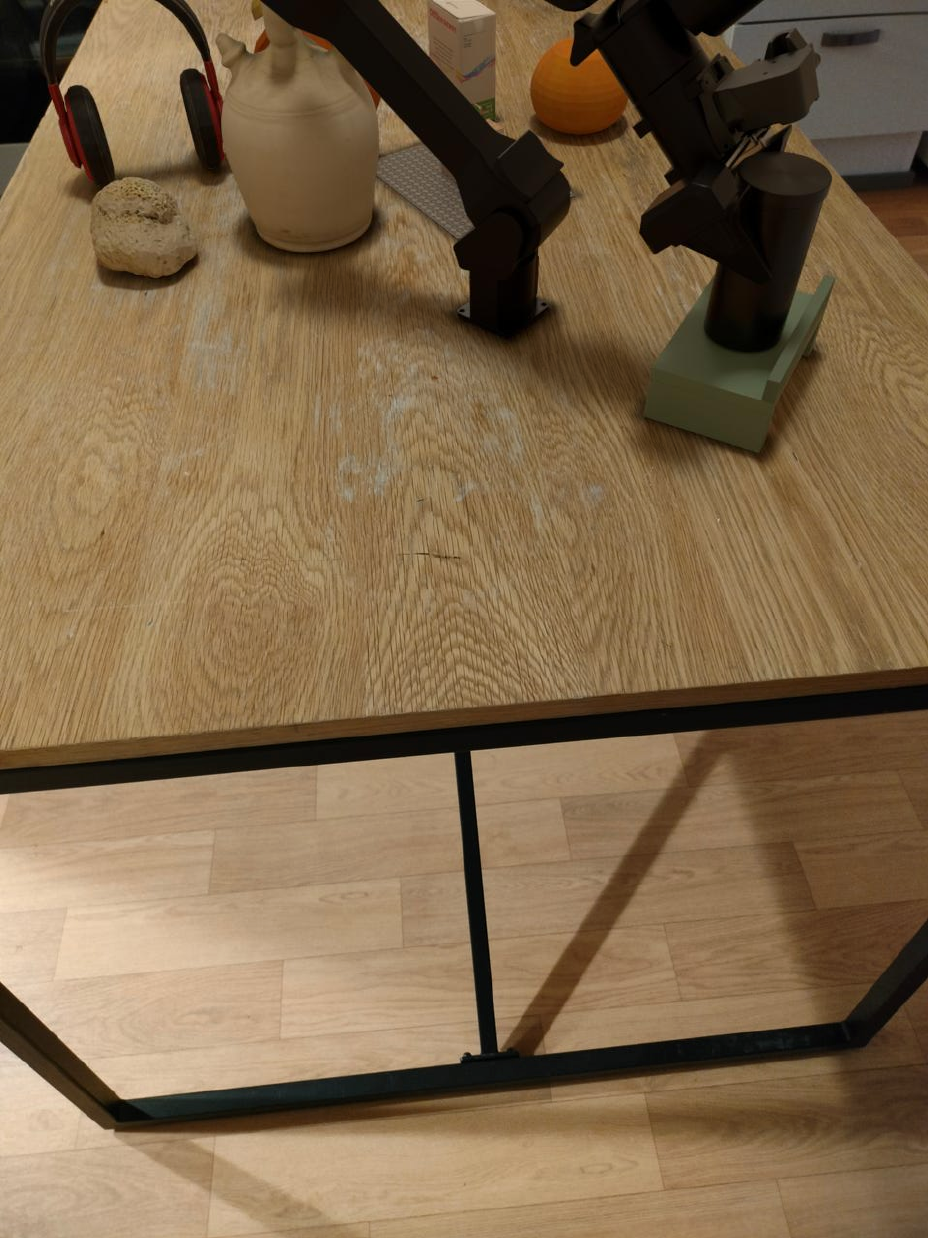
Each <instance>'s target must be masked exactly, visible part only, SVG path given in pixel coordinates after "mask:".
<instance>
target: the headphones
mask: <svg viewBox="0 0 928 1238" xmlns="http://www.w3.org/2000/svg"><path fill="white" fill-rule="evenodd" d="M84 1H85V0H49V1H48V4H47V6H46V7H45V9H44V13H43V14H42V15H43V16H42V18H41V22H40V29H39V36H38V37H39V38H38V39H39V54H40V55H39V56H40V63H41V66H42V71H43V74H44V76H45V78H46V82H47V87H48V92H49V95H50V97H51V100H52V104H53V106H54V110H55V113H56V115H57V116H58V120H57V123H58V127H59V131H60V135H61V137H62V141H63V144H64V147H65V150H66V153H67V155H68V158H69V160H70V162H71V163H72V164H73V165H74V167H75V168H77V169H79V170H82V167H83V169H84V171H85V173H86V176H87V179H88V180H89V181H90V182H92V183H93V184H95V185H96V186H98V187H103V188H104V187H106V186H107V185H109V184H110V183H111V182H114V181H116V171H115V170H116V169H115V165H114V164H115V163H114V161H113V156H112V152H111V149H110V146H109V142H108V141H109V140H108V139H107V135H106V131H105V128H104V125H103V121H102V119H101V115H100V112H99V109H98V106H97V103H96V101H95V98H94V96H93V95H92V92H91V91H90V89H89V88H88V87H86V86H84V85H82V84H74V85H70V86H69V87H68V88H67V90H66V93H64V94H62V92H61V89H60V85H59V82H58V78H57V48H58V47H57V46H58V40H59V36H60V33H61V29H62V26H63V25H64V23H65V21H66V20H67V18H68V16H69V14H70V13H71V12H72V11H73V10H74V9H76V8H77V7H78V6H79V5H80V4H81V3H82V2H84ZM154 2H157V3H158V4H160V5H161V6H162V7H164V8H165V9H167V10H168V11H169V12H171V13H172V14H173V15H174V17H175V18H176V19H177V20H178V21H179V22H180V24H182V26H183V28H184V29H185V30H186V32H187V33H188V34H189V36H190V38H191V40H192V42H193V43H194V45H195V47H196V48H197V50H198V52H199V53H200V56H201V59H202V62H203V66H204V71H205V74H204V73H202V72H201V71H199V69H197V68H195V67H191V68H186V69H183V70H182V72H181V73H180V75H179V88H180V93H181V97H182V102H183V107H184V110H185V115H186V119H187V123H188V127H189V131H190V134H191V138H192V142H193V145H194V149H195V150H194V151H195V153H196V156H197V159H198V161H199V162H200V164H201V166H203V167H204V168H206V169H212V170H214V169H217V168H220V167H221V165H222V163H223V161H224V159H225V150H224V145H223V139H222V127H221V119H222V108H223V102H224V98H223V95H222V94H221V92H220V87H219V82H218V76H217V72H216V68H215V64H214V62H213V59H212V55H211V49H210V46H209V41H208V38H207V36H206V33H205V30H204V28H203V26H202V24H201V23H200V20H199V18H198V16H197V14H196V13H195V11H194V10H193V9H192V8H191V6H190V5H189V3H188V2H187V1H186V0H154Z"/></svg>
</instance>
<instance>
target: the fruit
mask: <svg viewBox="0 0 928 1238" xmlns="http://www.w3.org/2000/svg"><path fill="white" fill-rule="evenodd" d="M573 41H574V36H571V37H566V38H562V39H561V40H558V41H557V42H556V43H554V44H553V45H551V47H550V48H548V49H547V50H546V51H545V52H544V53H543V55H542V56H541V57H540V59H539V60H538V62H537V64H536V65H535V68H534V71H533V72H532V76H531V78H530V79H531V80H530V86H529V93H530V101H531V105H532V109H533V111H534V113H535V116H536V117H537V118H538V119H539V120H540V122H542V123H543V124H544V125H545V126H547V127H548V128H549V129H552V130H554V131H556V132H560V133H564V134H568V135H578V136H579V135H590V134H594V133H598V132H601V131H604V130H605V129H608V128H610V127H611V126H612V125H614V124H615V123H616V122H617V121H618V120H619V119H620V118H621V117H622V115H623V114H624V113H625V110H626V108H627V105H628V101H629V98H628V96H627V95H626V93H625V92H624V90H623V89H622V87H621V85H620V84H619V82H618V81H617V79H616V78H615V76H614V74H613V73H612V71H611V70H610V68H609V67H608V65H607V63H606V62H605V60H604V59H603V57H602V56H601V54H600V52H599V51H598V49H596V50H595V51H594V52H593V53H592V54H591V55H589V56H588V57H587V58H586V59H585V60H584V61H583V62H582V63H580V64H579V65H578V66H576V67H574V66H572V65H571V64H570V56H571V50H572V45H573Z"/></svg>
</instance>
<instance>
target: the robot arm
mask: <svg viewBox="0 0 928 1238" xmlns="http://www.w3.org/2000/svg"><path fill="white" fill-rule="evenodd" d="M260 1H261V2H262V3H263V4H264V5H266V6H267V7H268V8H269V9H270V10H272V11H273V12H274V13H275V14H277V15H278V16H279V17H280V18H281V19H283V20H284V21H285V22H286V23H287V24H289V25H290V26H292V27H295V28H297V29H300V30H302V31H305V32H307V33H309V34H312V35H314V36H317V37H319V38H322V39H324V40H326V41H328V42H329V43H330V44H332V45H333V46H334V47H335V48H336V49H337V50H338V52H339V53H340V54H341V55H342V56H343V57H344V58H345V59H346V60H347V61H348V62H349V63H350V65H351V66H352V67H353V68H354V69H355V70H356V71H357V72H358V73H359V74H360V75H361V77H362V78H363V79H364V80H365V81H366V82H367V83H368V84H369V85H370V86H371V87H372V88H373V90H374V91H375V92H376V93H377V94H378V95H379V96H380V97H381V100H382V101H383V102H384V103H385V104H386V105H387V106H388V107H389V108H390V110H392V111H393V112H394V114H395V115H396V116H397V117H398V118H399V119H400V120H401V121H402V122H403V124H405V126H406V127H407V128H408V129H409V130H410V131H411V132H412V133H413V134H414V135H415V137H416V138H417V139H418V140H419V141H420V142H421V143H422V144H424V145H425V146H426V147H427V148H428V149H429V150H430V151H431V153H432V154H433V155H434V156H435V157H436V158H437V159H438V160H439V161H440V162H441V163H442V165H443V166H444V167H445V168H446V169H447V170H448V171H449V172H450V173H451V174H452V176H453V177H454V179H455V180H456V183H457V186H458V189H459V193H460V196H461V199H462V203H463V206H464V209H465V213H466V215H467V217H468V219H469V220H470V221H471V223H472V224H473V227H472V228H471V229H470V230H469V231H468V232H467V233H466V234H465V235H464V236H462V237H461V238H460V239H457V241H456V242H455V243H454V244H453V246H452V249H453V252H454V255H455V259H456V261H457V265H458V267H459V269H461V270H464V271H467V272H468V280H469V282H468V285H469V289H468V290H469V291H468V293H469V295H468V296H469V300H468V301H467V302H466V303H464V304H463V305H462V306H460V307H459V308H457V309H456V316H457V317H458V318H460V319H462V320H465V321H467V322H469V323H471V324H473V325H476V326H477V327H480V328H482V329H484V330H486V331H489V332H491V333H493V334H495V335H497V336H500V337H502V338H504V339H507V340H511V339H513V338H515V337H516V336H517V335H519V334H520V333H521V332H522V331H524V330H525V329H526V328H527V327H529V326H530V325H531V324H532V323H534V322H535V321H536V320H538V319H539V318H540V317H541V316H543V315H545V313H546V312H548V311H549V310H550V303H549V302H548V301H545V300H543V299H542V298H538V297H537V295H538V290H539V269H540V256H539V250H540V247H541V246H542V245H543V244H544V242H545V241H546V240H547V239H548V238H549V237H550V236H551V235H552V234H553V232H555V231H556V229H557V228H558V227H559V226H560V225H561V224H562V223H563V222H564V220H565V219H566V218H567V216H568V215H569V212H570V208H571V204H572V200H571V199H572V197H570V192H571V191H572V187H571V185H570V182H569V180H568V178H567V177H566V175H565V173H564V172H563V171H562V168H563V167H564V166H565V163H564V162H563V161H561V160H560V159H557V158H556V157H555V156H553V155H552V154H551V153H550V152H549V151H548V149H547V148H546V147H545V146H544V144H543V143H542V141H541V139H540V138H539V136H538V135H537V134H536V133H535V132H533V130H531V129H527V130H526V131H525V132H524V133H522V134H521V135H520V136H519V137H518V138H517V139H515V138H512V137H510V136H507V135H505V134H500V133H498V132H497V131H496V130H495V129H493V128H492V127H491V125H490V124H489V123H488V122H487V121H486V120H485V119H484V118H483V116H482V115H481V114H480V113H479V112H478V111H477V110H476V109H475V108H474V106H473V105H472V104H471V103H470V102H469V101H468V100H467V99H466V97H465V96H464V95H463V94H462V93H461V92H460V91H459V90H458V89H457V87H456V86H455V85H454V84H453V83H452V82H451V81H450V80H449V78H448V77H447V76H446V75H445V74H444V73H443V72H442V71H441V70H440V68H439V67H438V66H437V65H436V64H435V63H434V62H433V61H432V59H431V58H430V57H429V55H428V54H427V52H426V51H425V50H424V49H423V48H422V47H421V46H420V44H418V43H417V41H416V40H415V39H414V38H413V36H411V34H410V33H408V31H407V30H406V29H405V28H404V27H403V26H402V24H401V23H400V22H399V21H398V20H397V19H396V18H395V17H394V15H392V13H391V12H390V11H389V10H388V9H387V8H386V6H384V5H383V3H382V2H381V1H380V0H260ZM543 1H544V2H546V3H548V4H550V5H551V6H553V7H555V8H557V9H559V10H561V11H564V12H569V13H578V12H582V11H585V10H586V9H588V8H590V7H592V6H593V5H594V4H596V3H597V2H598V1H599V0H543ZM764 1H765V0H612V2H611V3H610V4H608V6H606V7H605V8H604V9H603V10H602V11H600V13H594V12H590V11H586V12H584V13H583V14H582V15H581V16H580V17H578V18H577V19H576V20H574V22H573V24H572V25H573V37H574V41H573V45H572V50H571V56H570V64H571V65H572V66H574V67H576V66H578V65H579V64H580V63H582V62H583V61H584V60H585V59H586V58H587V57H588V56H589V55H591V54H592V53H593V52H594V51H595V50H596V49H598V51H599V52H600V54H601V56H602V57H603V59H604V60H605V62H606V63H607V65H608V67H609V68H610V70H611V71H612V73H613V74H614V76H615V78H616V79H617V81H618V82H619V84H620V85H621V87H622V89H623V90H624V92H625V93H626V95H627V96H628V101H630V103H631V105H632V106H633V108H634V109H635V111H636V112H637V114H638V116H639V117H640V118H639V120H637V122H636V123H635V124H634V125H633V126H632V129H633V130H634V132H635V134H636V135H637V137H638V138H639V139H640V140H641V139H643V138H644V137H645V136H647V135H648V134H649V133H650V135H651V136H652V138H653V139H654V141H655V142H656V144H657V146H658V147H659V149H660V150H661V151H662V153H663V155H664V156H665V158H666V159H667V161H668V163H669V164H670V167H669V169H668V170H667V171H666V173H665V174H664V175H663V177H664V179H665V181H666V182H667V183H668V185H669V187H667V188H666V189H665V190H663V191H662V192H660V193H659V194H658V195H657V196H656V197H655V198H654V200H653V201H652V202H651V203H650V204H649V206H648V207H647V208H646V210H644V212H643V213H642V214H641V217H640V223H639V228H638V229H639V230H638V234H639V235H640V237H641V239H642V240H643V241H644V243H645V245H646V246H647V248H648V249H649V250H650V251H651V253H652V255H658V254H660V253H661V252H663V251H665V250H667V248H669V247H671V246H672V247H674V248H678V247H679V246H682V247H684V248H687V249H689V250H691V251H693V252H695V253H697V254H700V255H702V256H704V257H706V258H709V259H711V260H713V261H715V262H716V263H720V264H722V265H724V266H726V267H727V268H729V269H731V270H733V271H735V272H736V273H738V274H740V275H742V276H744V277H745V278H747V279H749V280H751V281H753V282H754V283H756V284H758V285H762V284H764V283H766V282H768V281H769V280H770V279H771V278H772V273H771V271H770V268H769V266H768V263H767V261H766V258H765V256H764V254H763V252H762V250H761V247H760V245H759V243H758V241H757V239H756V237H755V235H754V232H753V230H752V228H751V226H750V224H749V222H748V220H747V217H746V215H745V209H746V205H747V200H748V195H749V191H750V184H749V185H747V186H745V187H744V188H742V189H741V190H739V191H736V185H735V176H736V172H737V167H738V165H739V163H740V162H741V161H742V160H743V159H744V158H746V157H748V156H750V155H753V154H756V153H761V152H770V151H779V152H786V151H785V150H786V147H787V145H788V140H789V137H790V136H791V133H792V131H793V124H795V123H797V122H799V121H801V120H803V119H805V118H806V117H807V116H808V114H809V113H810V109H811V106H812V105H813V104H814V102H817V101H818V100H819V99H820V97H821V96H820V89H819V83H818V77H817V68H818V67H819V66H820V64H821V62H822V57H821V55H820V54H819V52H818V53H817V52H815V49H814V43H813V42H810V43H807V41H806V40H805V38H804V36H802V34H801V33H800V31H799V30H798V29H797V28H796V27H792V28H789V29H786V30H784V31H780V32H777V33H775V34H774V35H773V37H772V38H771V39H770V40H769V41H768V43H767V45H766V49H765V54H764V57H763V59H761V58H760V57H759V58H755V60H753V61H752V63H750V64H748V65H745V66H743V67H739V68H737V69H735V68H734V67H733V65H732V63H731V62H730V60H729V58H728V57H727V56H726V55H721V53H720V52H718V53H716V54H715V55H713V57H711V58H709V56H708V55H707V53H706V52H705V50H704V48H703V46H702V44H701V43H700V41H699V39H698V38H697V37H698V36H699V35H700V34H702V33H703V34H705V35H707V36H708V37H713V38H717V37H719V36H721V35H723V33H725V32H726V31H727V30H729V29H730V28H731V27H733V26H734V25H735V24H736V23H737V22H739V21H740V20H742V19H743V17H745V16H746V15H747V14H749V13H750V12H751V11H753V10H754V9H755V8H756V7H757V6H759V5H760V4H761V3H763V2H764ZM775 125H781V126H785V127H783V128H782V129H780V130H779V131H777V132H776V133H775V131H774V130H773V128H772V126H775Z"/></svg>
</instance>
